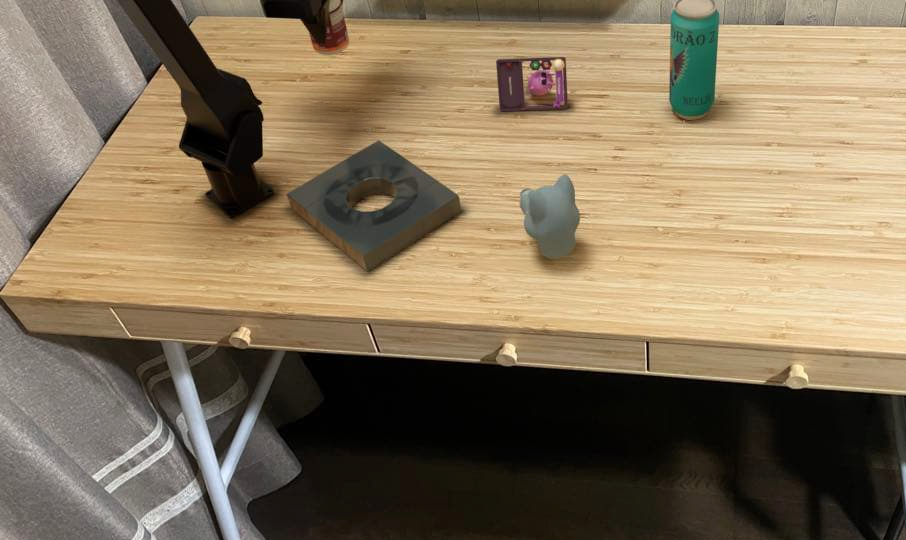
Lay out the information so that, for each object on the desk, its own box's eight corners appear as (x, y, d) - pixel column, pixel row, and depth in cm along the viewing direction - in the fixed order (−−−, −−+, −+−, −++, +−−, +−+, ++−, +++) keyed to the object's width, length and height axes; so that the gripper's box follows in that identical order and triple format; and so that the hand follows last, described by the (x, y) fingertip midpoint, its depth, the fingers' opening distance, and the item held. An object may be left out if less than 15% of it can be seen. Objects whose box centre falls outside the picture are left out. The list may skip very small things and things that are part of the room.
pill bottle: (306, 52, 129) (289, -9, 123) (327, 33, 132) (312, -27, 126) (336, 59, 127) (321, -2, 121) (357, 40, 130) (343, -21, 124)
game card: (495, 61, 130) (565, 58, 129) (499, 51, 134) (567, 49, 133) (499, 112, 133) (567, 110, 132) (503, 101, 137) (569, 99, 136)
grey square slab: (461, 211, 121) (458, 195, 119) (367, 272, 115) (363, 256, 113) (382, 155, 129) (378, 139, 127) (291, 209, 123) (285, 193, 122)
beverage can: (662, 102, 132) (663, -2, 121) (702, 92, 133) (707, -13, 122) (679, 127, 128) (682, 22, 117) (721, 116, 129) (728, 10, 118)
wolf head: (549, 214, 119) (542, 145, 112) (592, 254, 114) (588, 186, 106) (505, 236, 117) (495, 168, 110) (546, 278, 112) (539, 210, 104)
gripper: (264, -124, 125) (295, -8, 136) (200, -52, 112) (240, 70, 124) (349, -123, 122) (373, -5, 134) (294, -49, 110) (326, 74, 122)
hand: (328, 32), depth 128 cm, fingers closed on pill bottle, 5 cm apart
